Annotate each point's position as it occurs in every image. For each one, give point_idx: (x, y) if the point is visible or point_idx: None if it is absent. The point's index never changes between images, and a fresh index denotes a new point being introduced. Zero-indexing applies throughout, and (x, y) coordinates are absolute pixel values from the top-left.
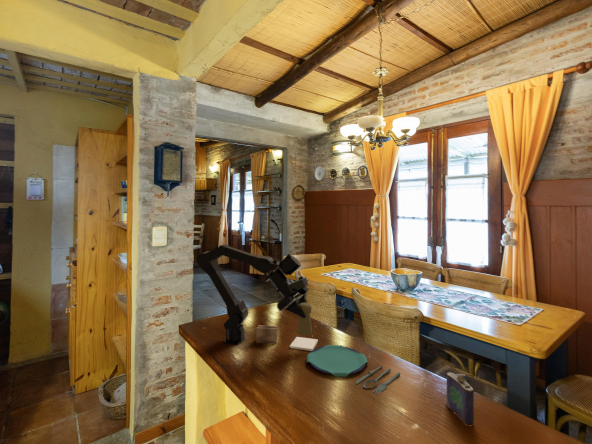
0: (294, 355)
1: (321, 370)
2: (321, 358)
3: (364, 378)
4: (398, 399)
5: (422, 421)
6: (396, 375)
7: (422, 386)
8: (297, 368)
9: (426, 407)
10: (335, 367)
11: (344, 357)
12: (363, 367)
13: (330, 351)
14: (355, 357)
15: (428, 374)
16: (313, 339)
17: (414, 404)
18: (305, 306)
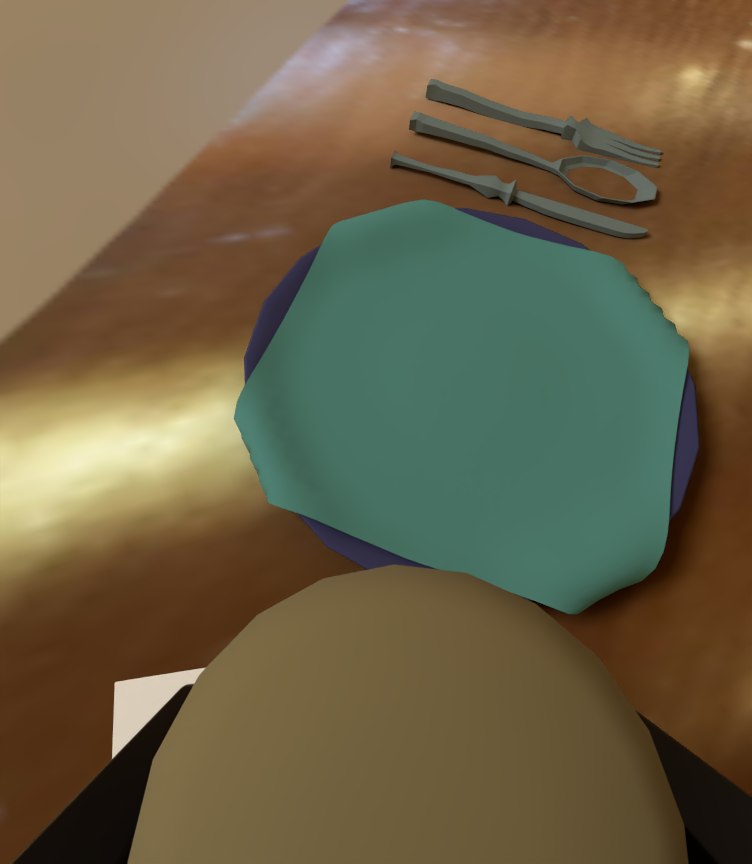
0: None
1: (696, 417)
2: (511, 489)
3: (572, 208)
4: (635, 89)
5: (712, 31)
6: (464, 90)
7: (474, 29)
8: (733, 630)
9: (619, 22)
10: (570, 361)
11: (403, 341)
12: (487, 213)
13: (361, 459)
14: (370, 278)
15: (352, 12)
16: (128, 736)
17: (629, 48)
18: (621, 695)
